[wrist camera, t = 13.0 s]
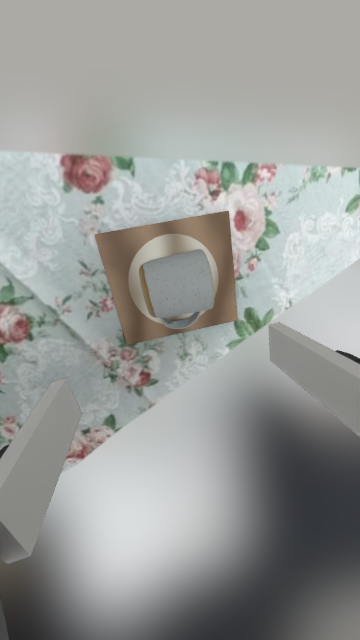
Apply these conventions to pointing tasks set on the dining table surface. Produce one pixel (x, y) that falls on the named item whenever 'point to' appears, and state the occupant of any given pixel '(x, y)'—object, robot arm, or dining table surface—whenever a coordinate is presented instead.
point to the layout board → (162, 241)
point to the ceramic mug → (178, 287)
